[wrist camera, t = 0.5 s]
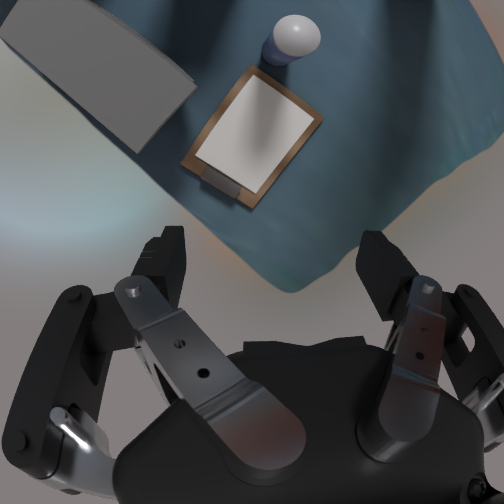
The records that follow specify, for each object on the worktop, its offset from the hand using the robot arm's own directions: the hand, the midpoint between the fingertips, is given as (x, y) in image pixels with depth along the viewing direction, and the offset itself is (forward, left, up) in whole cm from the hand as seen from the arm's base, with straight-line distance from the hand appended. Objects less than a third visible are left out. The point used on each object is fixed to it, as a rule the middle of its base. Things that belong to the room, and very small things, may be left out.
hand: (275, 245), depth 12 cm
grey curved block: (-2, -21, -25) cm, 33 cm away
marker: (-12, -4, -25) cm, 28 cm away
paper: (-2, 0, -25) cm, 25 cm away
